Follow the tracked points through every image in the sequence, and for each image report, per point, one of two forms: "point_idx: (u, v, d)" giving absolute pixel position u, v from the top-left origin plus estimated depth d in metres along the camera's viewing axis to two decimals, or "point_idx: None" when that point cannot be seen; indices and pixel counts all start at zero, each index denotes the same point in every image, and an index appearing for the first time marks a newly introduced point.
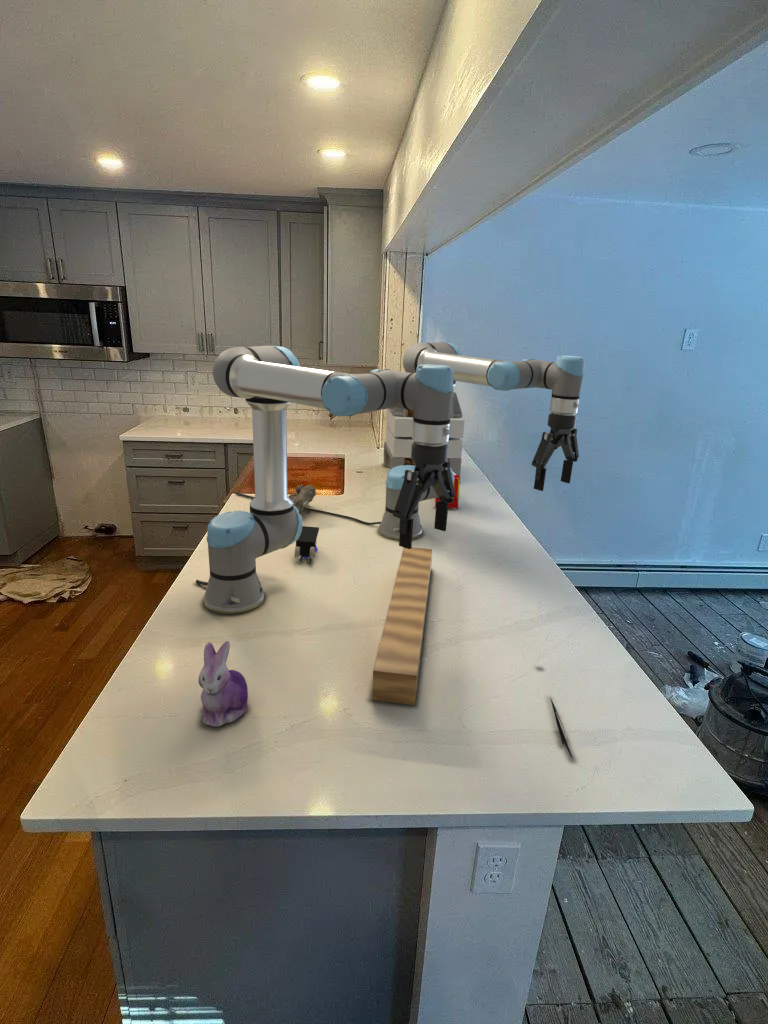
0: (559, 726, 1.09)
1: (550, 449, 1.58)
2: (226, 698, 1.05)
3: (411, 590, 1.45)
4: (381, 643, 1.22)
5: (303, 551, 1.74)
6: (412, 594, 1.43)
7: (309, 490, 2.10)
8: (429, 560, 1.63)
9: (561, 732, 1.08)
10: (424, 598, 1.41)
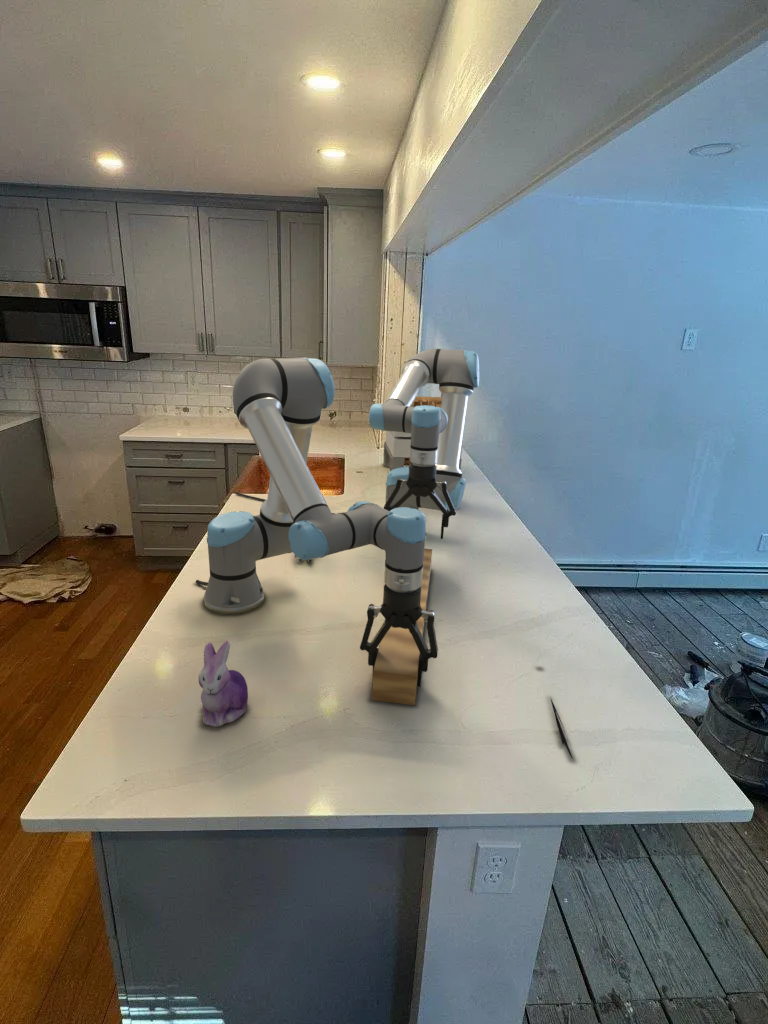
0: (559, 726, 1.09)
1: (403, 496, 1.58)
2: (226, 698, 1.05)
3: None
4: (381, 643, 1.22)
5: None
6: None
7: None
8: (429, 560, 1.63)
9: (561, 732, 1.08)
10: (424, 598, 1.41)
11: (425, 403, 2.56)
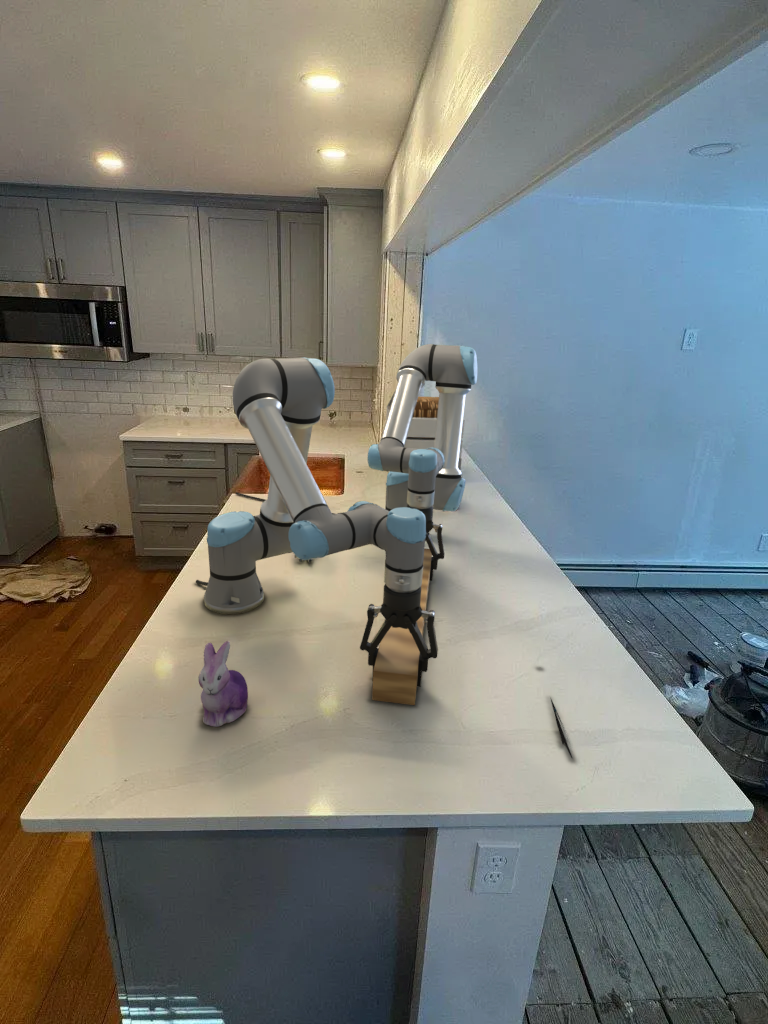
0: (559, 726, 1.09)
1: None
2: (226, 698, 1.05)
3: None
4: (381, 643, 1.22)
5: None
6: None
7: None
8: (429, 560, 1.63)
9: (561, 732, 1.08)
10: (424, 598, 1.41)
11: (425, 403, 2.56)
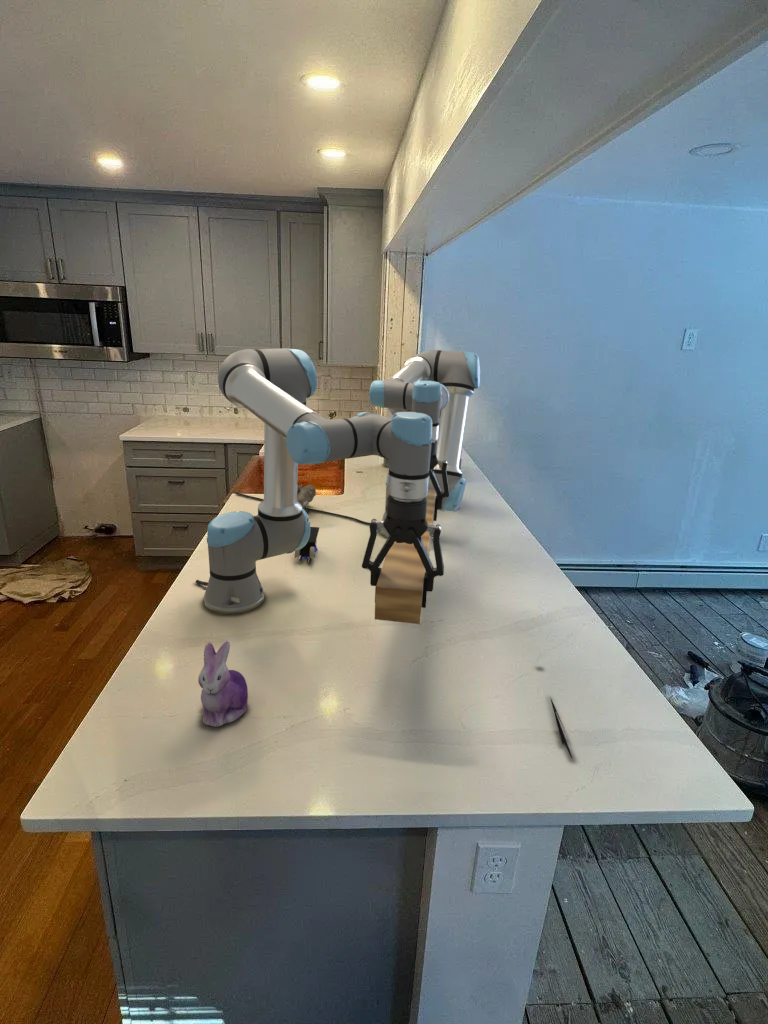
0: (559, 726, 1.09)
1: None
2: (226, 698, 1.05)
3: None
4: (384, 564, 1.15)
5: (303, 551, 1.74)
6: None
7: (309, 490, 2.10)
8: (433, 499, 1.57)
9: (561, 732, 1.08)
10: None
11: None
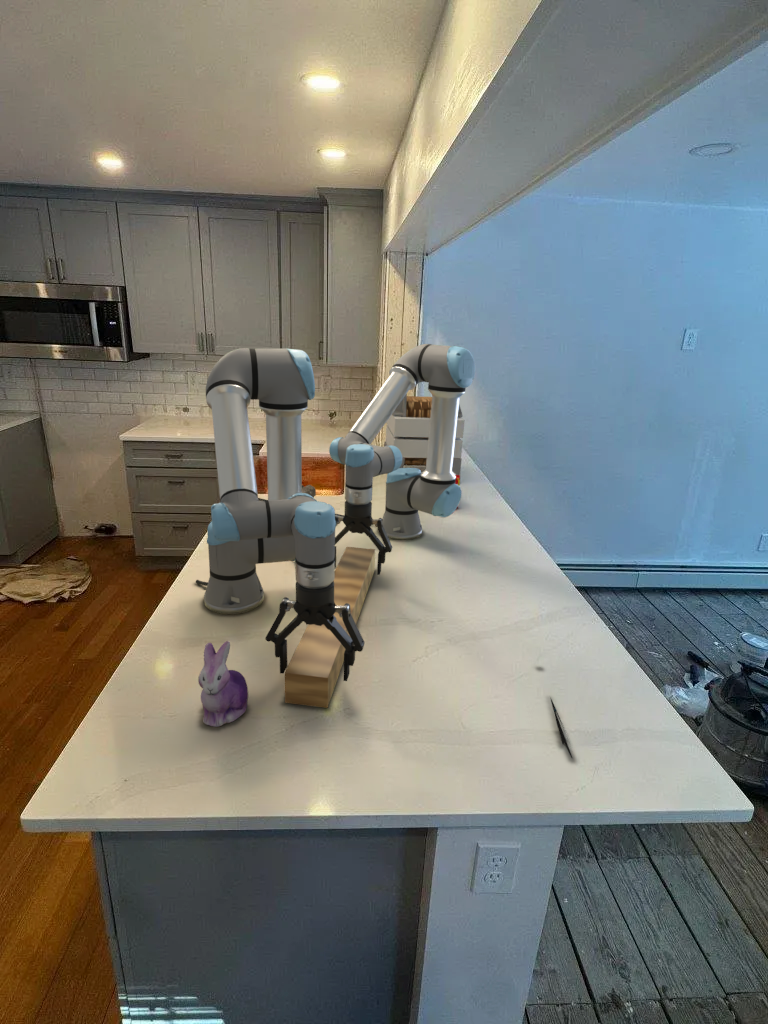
0: (559, 726, 1.09)
1: (340, 532, 1.60)
2: (226, 698, 1.05)
3: (343, 591, 1.43)
4: (299, 645, 1.20)
5: None
6: (344, 595, 1.41)
7: (309, 490, 2.10)
8: (369, 560, 1.61)
9: (561, 732, 1.08)
10: (354, 599, 1.39)
11: (425, 403, 2.56)
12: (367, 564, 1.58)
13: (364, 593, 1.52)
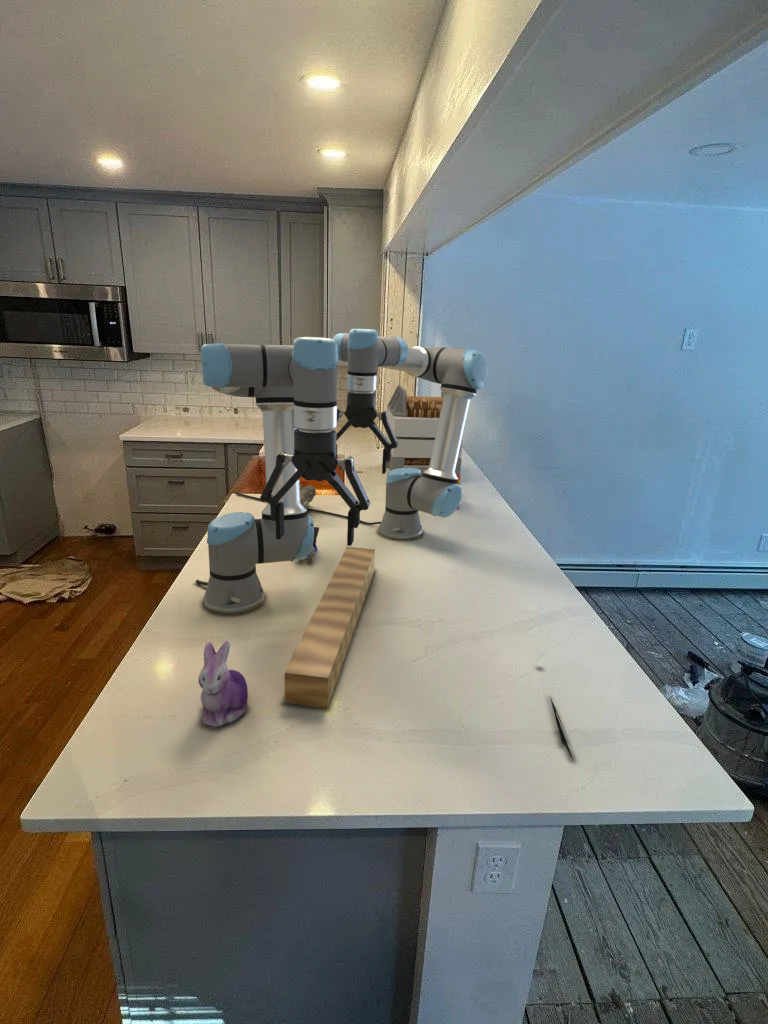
0: (559, 726, 1.09)
1: (342, 427, 1.50)
2: (226, 698, 1.05)
3: (343, 591, 1.43)
4: (299, 645, 1.20)
5: None
6: (344, 595, 1.41)
7: (309, 490, 2.10)
8: (369, 560, 1.61)
9: (561, 732, 1.08)
10: (355, 599, 1.39)
11: (425, 403, 2.56)
12: (367, 564, 1.58)
13: (364, 593, 1.52)
